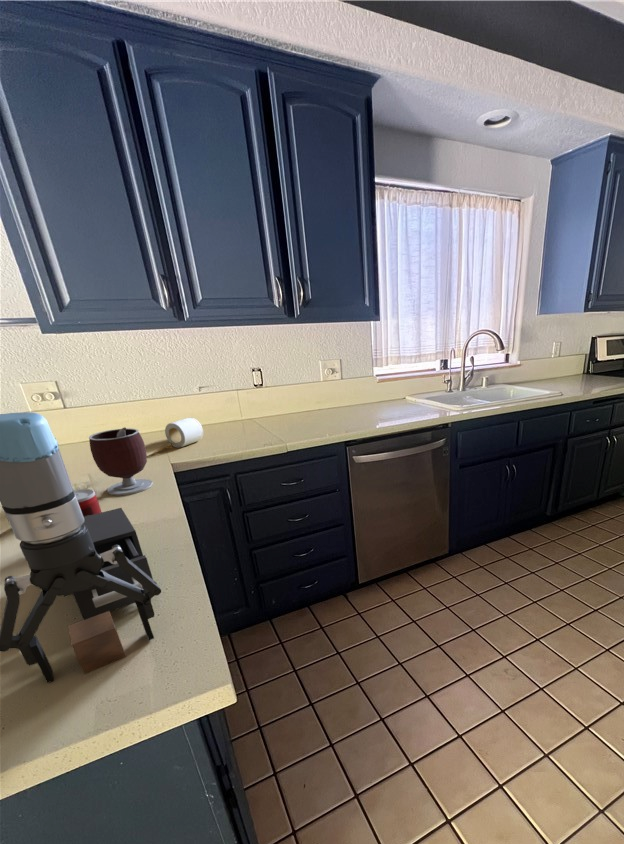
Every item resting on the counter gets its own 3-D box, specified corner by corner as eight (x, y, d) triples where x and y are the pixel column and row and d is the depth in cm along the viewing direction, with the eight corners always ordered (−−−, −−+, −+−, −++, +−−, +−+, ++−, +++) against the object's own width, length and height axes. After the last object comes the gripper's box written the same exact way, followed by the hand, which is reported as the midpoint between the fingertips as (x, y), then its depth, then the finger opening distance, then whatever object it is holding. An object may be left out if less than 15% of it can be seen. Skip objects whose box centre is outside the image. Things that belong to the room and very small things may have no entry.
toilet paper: (186, 440, 183) (181, 416, 179) (205, 441, 180) (200, 418, 175) (168, 446, 175) (162, 422, 170) (187, 448, 171) (181, 423, 167)
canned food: (95, 527, 107) (81, 486, 103) (116, 533, 104) (102, 491, 99) (64, 541, 101) (47, 498, 97) (84, 547, 98) (68, 503, 93)
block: (84, 674, 63) (71, 645, 60) (79, 653, 66) (67, 625, 64) (126, 656, 66) (115, 628, 63) (119, 637, 70) (109, 610, 67)
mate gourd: (97, 490, 131) (75, 426, 123) (142, 477, 141) (125, 416, 133) (119, 501, 123) (97, 433, 114) (166, 486, 133) (149, 422, 124)
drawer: (164, 606, 75) (152, 568, 72) (87, 636, 69) (71, 595, 65) (141, 565, 88) (130, 531, 85) (75, 586, 82) (60, 550, 78)
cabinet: (148, 572, 87) (135, 530, 83) (74, 597, 80) (56, 552, 76) (133, 546, 98) (121, 507, 94) (67, 566, 91) (50, 525, 87)
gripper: (-80, 578, 47) (-1, 714, 56) (159, 513, 61) (192, 631, 70) (-71, 553, 53) (0, 680, 62) (147, 499, 67) (179, 609, 75)
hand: (102, 654), depth 66 cm, fingers open, 13 cm apart
